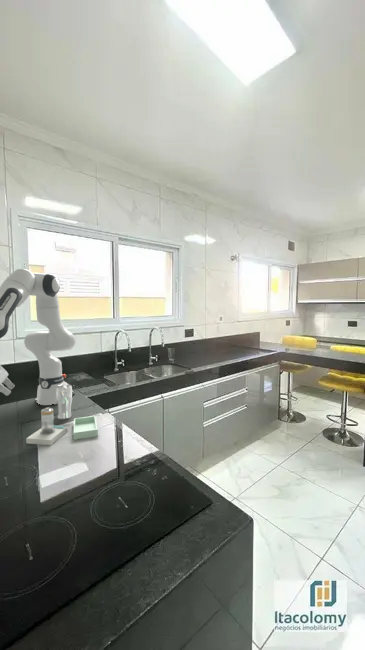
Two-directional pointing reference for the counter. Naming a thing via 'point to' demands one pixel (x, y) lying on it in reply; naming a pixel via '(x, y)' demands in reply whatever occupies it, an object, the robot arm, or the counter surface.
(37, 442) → the white flat block
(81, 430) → the trough
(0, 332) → the robot arm
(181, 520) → the counter surface
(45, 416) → the cell
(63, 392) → the clear plastic bottle
